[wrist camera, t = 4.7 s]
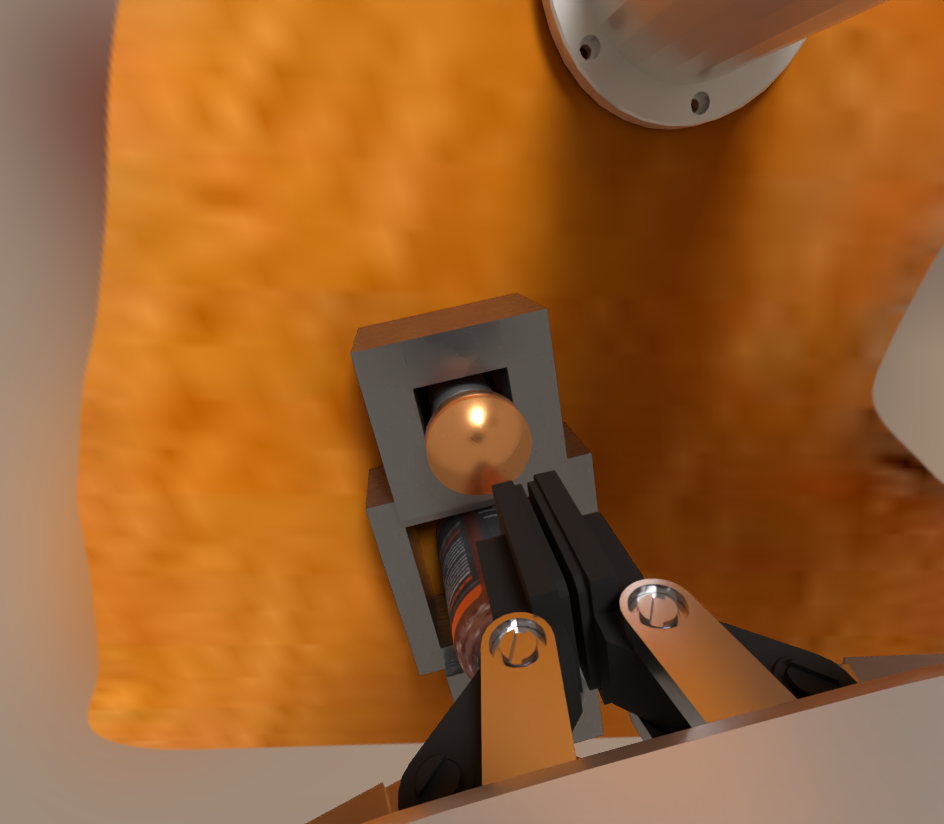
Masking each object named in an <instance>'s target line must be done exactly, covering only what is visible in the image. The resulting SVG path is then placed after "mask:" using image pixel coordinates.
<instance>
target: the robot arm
mask: <svg viewBox="0 0 944 824" xmlns="http://www.w3.org/2000/svg"><path fill="white" fill-rule="evenodd" d="M886 1H888V0H542V4H543V7H544V11H545V15H546V19H547V22H548V26H549V30H550V33H551V35H552V38H553V40H554V42H555V44H556V46H557V49H558V51H559V53H560V55H561V57H562V60H563V62H564V63H565V65H566V66H567V68H568V69H569V71H570V72H571V74H572V75H573V76H574V78H575V79H576V81H577V82H578V84H579V85H580V87H581V88H582V89H583V90H584V91H585V92H587V93H588V94H589V95H590V96H591V97H592V98H593V99H594V100H595V101H596V102H597V103H598V104H599V105H600V106H601V107H603V108H604V109H606V110H608V111H609V112H611V113H612V114H614V115H616V116H617V117H619V118H621V119H622V120H625V121H628V122H631V123H634V124H637V125H640V126H643V127H646V128H655V129H666V130H673V129H680V128H687V127H694V126H698V125H701V124H704V123H707V122H710V121H713V120H716V119H719V118H721V117H723V116H725V115H727V114H729V113H731V112H733V111H735V110H737V109H739V108H741V107H743V106H744V105H746V104H747V103H748V102H750V101H751V100H752V99H754V98H755V97H756V96H758V95H759V94H760V93H762V92H763V91H764V90H766V89H767V88H768V87H769V86H770V85H771V83H772V82H773V81H774V80H775V79H776V78H777V77H778V76H779V75H780V74H781V73H782V72H783V71H784V70H785V69H786V68H787V66H788V65H789V64H790V62H791V61H792V59H793V58H794V56H795V55H796V54H797V52H798V51H799V49H800V48H801V46H802V45H803V43H804V42H805V41H806V39H807V37H809V36H811V35H813V34H816V33H818V32H820V31H822V30H824V29H827V28H829V27H831V26H833V25H835V24H838V23H840V22H842V21H844V20H846V19H849V18H851V17H853V16H855V15H857V14H860V13H862V12H864V11H866V10H868V9H871V8H873V7H875V6H877V5H879V4H882V3H884V2H886ZM580 48H584V49H585V50H586V51H587V59H586V60H585V59H584V58H583V57H582V56H581V53H580ZM691 103H692V104H693V111H692V108H691ZM533 479H534V481H530V482H527V487H528V493H529V499H530V501H529V499H528V497H527V495H526V493H525V490H524V488H523V486H522V484H517V485H514V483H513V481H512V480H510V481H506V482H502V483H497V484H493V485H492V492H493V497H494V502H495V507H496V512H497V516H498V521H499V526H500V531H501V535H500V536H496V537H492V538H488V539H484V540H480V541H476V542H475V543H476V548H477V552H478V556H479V561H480V565H481V569H482V574H483V578H484V582H485V587H486V591H487V595H488V600H489V604H490V608H491V613H492V617H493V621H494V622H493V623H491V624H490V625H489V626H488V627H487V629H486V631H485V633H484V634H483V636H482V642H481V667H480V669H479V670H478V671H477V673H476V674H475V675H474V677H473V678H472V680H471V681H470V682H469V684H468V685H467V686H466V688H465V689H464V690H463V692H462V693H461V694H460V696H459V697H458V698H457V700H456V701H455V703H454V704H453V705H452V707H451V708H450V709H449V711H448V712H447V713H446V715H445V716H444V717H443V719H442V720H441V722H440V723H439V724H438V726H437V727H436V728H435V730H434V731H433V732H432V734H431V735H430V736H429V738H428V739H427V740H426V742H425V743H424V745H423V746H422V747H421V749H420V750H419V751H418V753H417V754H416V755H415V757H414V758H413V759H412V761H411V762H410V764H409V765H408V767H407V769H406V771H405V772H404V774H403V776H402V779H401V780H399V781H397V782H395V783H394V784H392V785H390V786H388V787H386V788H385V787H384V785H383V783H380V784H378V785H376V786H375V787H373V788H371V789H369V790H367V791H365V792H363V793H362V794H360V795H358V796H356V797H354V798H352V799H351V800H349V801H347V802H345V803H343V804H341V805H339V806H337V807H336V808H334V809H332V810H330V811H328V812H326V813H324V814H323V815H321V816H319V817H317V818H315V819H313V820H311V821H309V822H308V823H306V824H944V654H923V655H897V656H871V657H845V658H844V659H843V664H835V663H834V662H833V661H831V660H829V659H826V658H824V657H822V656H820V655H817V654H815V653H812V652H809V651H806V650H803V649H800V648H797V647H794V646H791V645H788V644H785V643H782V642H779V641H776V640H773V639H770V638H767V637H764V636H761V635H758V634H755V633H752V632H749V631H747V630H744V629H741V628H738V627H735V626H732V625H729V624H726V623H723V622H720V621H718V620H717V619H716V618H715V617H714V616H713V615H711V614H710V613H709V612H708V611H707V610H706V609H705V608H704V607H703V606H702V605H701V604H700V603H699V602H698V601H697V600H696V599H695V598H694V597H693V596H692V595H691V594H690V593H689V592H688V591H687V590H685V589H684V588H683V587H681V586H680V585H677V584H675V583H673V582H671V581H667V580H662V579H644V577H643V576H642V574H641V573H640V571H639V570H638V568H637V567H636V565H635V564H634V562H633V561H632V559H631V558H630V556H629V555H628V553H627V552H626V550H625V549H624V547H623V546H622V544H621V543H620V541H619V540H618V538H617V537H616V535H615V534H614V532H613V531H612V529H611V528H610V526H609V525H608V523H607V522H606V520H605V519H604V517H603V516H602V515H601V514H600V513H599V512H594V513H590V514H586V515H582V514H581V512H580V511H579V509H578V507H577V506H576V504H575V502H574V501H573V499H572V498H571V496H570V494H569V493H568V491H567V489H566V488H565V486H564V484H563V483H562V481H561V479H560V478H559V476H558V474H557V473H556V471H555V470H552V471H548V472H543V473H539V474H535V475H534V476H533ZM579 666H580V667H579ZM580 668H581V671H582V673H583V676H584V679H585V681H586V684H587V686H588V688H589V690H590V691H591V690H594V689H598V690H599V693H600V695H601V697H602V700H603V702H604V705H605V704H609V703H613V704H615V705H617V706H619V707H621V708H623V709H625V710H627V711H629V714H630V718H631V720H632V723H633V725H634V727H635V728H636V730H637V732H638V733H639V735H640V736H641V738H642V739H643V741H642V742H638V743H635V744H631V745H627V746H624V747H620V748H616V749H613V750H609V751H605V752H602V753H598V754H595V755H591V756H587V757H584V758H580V759H577V760H576V754H575V748H574V743H573V737H572V732H573V730H574V728H575V726H576V724H577V722H578V720H579V718H580V716H581V714H582V712H583V709H582V702H581V695H580V693H583V688H582V681H581V674H580Z"/></svg>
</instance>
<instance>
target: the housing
mask: <svg viewBox="0 0 944 824" xmlns="http://www.w3.org/2000/svg"><path fill="white" fill-rule="evenodd" d="M350 354H351V357H352V361H353V364H354V368H355V371H356V374H357V378H358V381H359V384H360V388H361V391H362V395H363V398H364V401H365V405H366V408H367V411H368V415H369V418H370V421H371V425H372V428H373V432H374V435H375V438H376V442H377V445H378V448H379V452H380V455H381V459H382V462H383V465H384V466H381V467H377V468H373V469H369V479H368V489H367V500H366V512H367V515H368V518H369V521H370V524H371V527H372V530H373V533H374V536H375V539H376V542H377V545H378V549H379V552H380V555H381V558H382V561H383V564H384V567H385V570H386V573H387V576H388V579H389V582H390V585H391V588H392V592H393V595H394V598H395V601H396V604H397V607H398V610H399V613H400V616H401V619H402V622H403V625H404V628H405V631H406V635H407V638H408V641H409V644H410V647H411V650H412V653H413V656H414V659H415V662H416V665H417V668H418V671H419V675H420V676H421V675H424V674H428V673H432V672H435V671H439V670H442V669H446V678H447V681H448V684H449V688H450V691H451V694H452V698H453V701H454V703H455V701H456V700H457V698H458V697H459V696H460V694H461V693H462V692H463V690H464V689H465V688H466V686H467V685H468V684H469V682H470V681H471V679H470V678H469V677H468V676H467V675H466V673H465V672H464V671H463V669H462V668H461V666H460V664H459V662H458V659H457V656H456V652H455V648H454V643H453V637H452V632H451V628H450V619H449V613H448V607H447V601H446V595H445V594H443V595H439V596H434V592H433V589H432V585H431V582H430V578H429V575H428V571H427V568H426V564H425V561H424V557H423V554H422V550H421V547H420V543H419V540H418V536H417V533H416V529H415V525H417V524H421V523H425V522H429V521H433V520H437V519H441V518H444V517H448V516H452V515H456V514H460V513H464V512H468V511H472V510H476V509H480V508H484V507H488V506H492V505H495V502H494V497H493V493H489V494H484V495H467V494H462V493H458V492H456V491H453V490H451V489H449V488H448V487H446V486H445V485H443V484H442V483H441V482H440V481H439V480H438V479H437V478H436V477H435V475H434V474H433V472H432V470H431V468H430V466H429V463H428V459H427V453H426V446H425V433H426V425H425V421H424V417H423V413H422V409H421V405H420V401H419V397H418V393H417V389H416V388H419V387H423V386H427V385H432V384H436V383H440V382H444V381H449V380H453V379H457V378H462V377H466V376H470V375H474V374H479V373H483V372H487V371H492V377H493V382H494V388H495V392H496V393H499V394H501V395H503V396H505V397H506V398H507V399H509V400H510V401H511V402H512V403H513V404H514V405H515V406H516V407H517V408H518V410H519V411H520V413H521V414H522V416H523V417H524V418H525V420H526V422H527V424H528V426H529V429H530V432H531V437H532V449H531V454H530V458H529V461H528V463H527V465H526V467H525V468H524V470H523V471H522V473H521V474H520V475H519V476H518V477H517V478H516V479H515V480H514V481H513V483H514V485H517V484H522V486H523V488H524V490H525V493H526V495H527V497H528V496H529V493H528V487H527V482H530V481H534V479H533V476H534V475H535V474H539V473H543V472H548V471H552V470H555V471H556V473H557V474H558V476H559V478H560V479H561V481H562V483H563V484H564V486H565V488H566V489H567V491H568V493H569V494H570V496H571V498H572V499H573V501H574V502H575V504H576V506H577V507H578V509H579V511H580V512H581V514H582V515H586V514H590V513H594V512H598V507H597V498H596V489H595V480H594V471H593V461H592V453H591V452H590V451H589V449H588V448H587V447H586V446H585V445H584V444H583V443H582V441H581V440H580V439H579V438H578V437H577V436H576V435H575V433H574V432H573V431H572V430H571V429H570V428H569V427H568V425H567V424H566V423H565V422H562V416H561V408H560V401H559V393H558V386H557V378H556V370H555V363H554V355H553V348H552V340H551V333H550V325H549V317H548V310H547V308H545V307H543V306H541V305H539V304H538V303H536V302H534V301H532V300H530V299H528V298H526V297H524V296H523V295H521V294H519V293H515V294H511V295H506V296H501V297H497V298H492V299H488V300H483V301H479V302H474V303H470V304H465V305H461V306H456V307H452V308H447V309H443V310H438V311H434V312H429V313H425V314H420V315H416V316H411V317H407V318H402V319H398V320H393V321H389V322H384V323H380V324H375V325H371V326H366V327H362V328H358V331H357V334H356V337H355V340H354V343H353V346H352V349H351V352H350ZM427 394H428V393H427ZM582 709H583V712H582V714H581V716H580V718H579V720H578V722H577V724H576V726H575V728H574V730H573V732H572V737H573V743H578V742H581V741H585V740H588V739H592V738H595V737H598V736H602V735H604V734H603V726H602V719H601V711H600V704H599V696H598V689H594V690H591V691H590V690H589V694H588V697H587V699H586V702H585V703H584V705H583V706H582Z"/></svg>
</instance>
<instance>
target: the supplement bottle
mask: <svg viewBox="0 0 944 824" xmlns="http://www.w3.org/2000/svg"><path fill="white" fill-rule="evenodd" d="M500 535H501V531H500V526H499V521H498V516H497V512H496V507H495V505H492V506H488V507H484V508H480V509H476V510H472V511H468V512H464V513H460V514H456V515H452V516H448V517H444V518H441V520H440V523H439V526H438V530H437V546H438V552H439V558H440V565H441V570H442V576H443V582H444V589H445V595H446V601H447V607H448V613H449V619H450V628H451V632H452V637H453V643H454V648H455V652H456V656H457V659H458V662H459V664H460V666H461V668H462V669H463V671H464V672H465V673H466V675H467V676H468V677H469V678H470V679H471V680H472V678H473V677H474V675H475V674H476V673H477V671H478V670H479V669H480V667H481V642H482V636H483V634H484V633H485V631H486V629H487V627H488V626H489V625H490V624H491V623H493V622H494V621H493V617H492V613H491V608H490V604H489V600H488V595H487V591H486V587H485V582H484V578H483V574H482V569H481V565H480V561H479V556H478V552H477V548H476V543H475V542H476V541H480V540H484V539H488V538H492V537H496V536H500ZM579 667H580V666H579ZM580 674H581V681H582V688H583V693H580V695H581V702H582V706H583V705H584V703H585V702H586V699H587V697H588V694H589V688H588V686H587V684H586V681H585V679H584V676H583V673H582V671H581V668H580Z"/></svg>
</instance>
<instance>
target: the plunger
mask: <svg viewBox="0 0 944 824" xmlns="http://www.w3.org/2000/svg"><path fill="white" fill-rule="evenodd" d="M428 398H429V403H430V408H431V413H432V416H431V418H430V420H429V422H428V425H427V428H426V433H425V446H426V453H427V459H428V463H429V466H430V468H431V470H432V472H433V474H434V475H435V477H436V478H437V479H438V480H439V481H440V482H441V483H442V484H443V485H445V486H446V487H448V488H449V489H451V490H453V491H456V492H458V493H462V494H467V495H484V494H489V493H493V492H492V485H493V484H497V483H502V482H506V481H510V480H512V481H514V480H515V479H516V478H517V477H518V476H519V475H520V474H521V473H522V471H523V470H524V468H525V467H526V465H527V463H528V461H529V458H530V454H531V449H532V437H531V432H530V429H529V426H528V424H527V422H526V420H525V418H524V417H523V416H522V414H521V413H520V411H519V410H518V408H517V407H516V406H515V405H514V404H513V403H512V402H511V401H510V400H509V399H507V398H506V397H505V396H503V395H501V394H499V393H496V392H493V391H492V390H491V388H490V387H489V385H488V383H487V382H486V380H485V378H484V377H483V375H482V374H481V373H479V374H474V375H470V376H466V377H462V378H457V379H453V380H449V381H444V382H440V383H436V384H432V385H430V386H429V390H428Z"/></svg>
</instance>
